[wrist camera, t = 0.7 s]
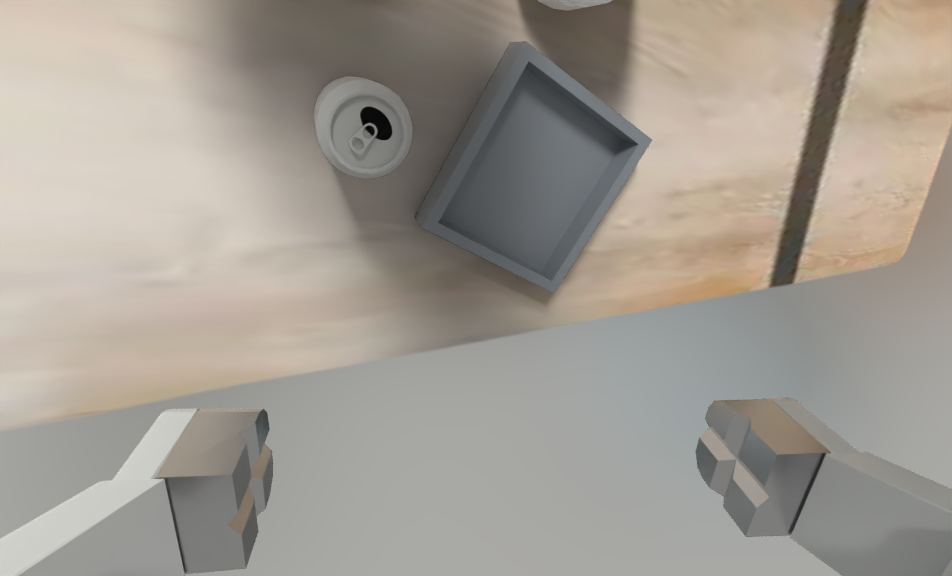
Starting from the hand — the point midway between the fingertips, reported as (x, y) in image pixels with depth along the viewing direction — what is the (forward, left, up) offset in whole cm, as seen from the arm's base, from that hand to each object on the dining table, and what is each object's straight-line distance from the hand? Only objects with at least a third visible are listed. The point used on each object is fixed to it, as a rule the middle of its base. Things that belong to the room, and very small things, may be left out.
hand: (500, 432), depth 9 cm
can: (-2, +1, -45) cm, 45 cm away
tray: (-6, +20, -45) cm, 49 cm away
